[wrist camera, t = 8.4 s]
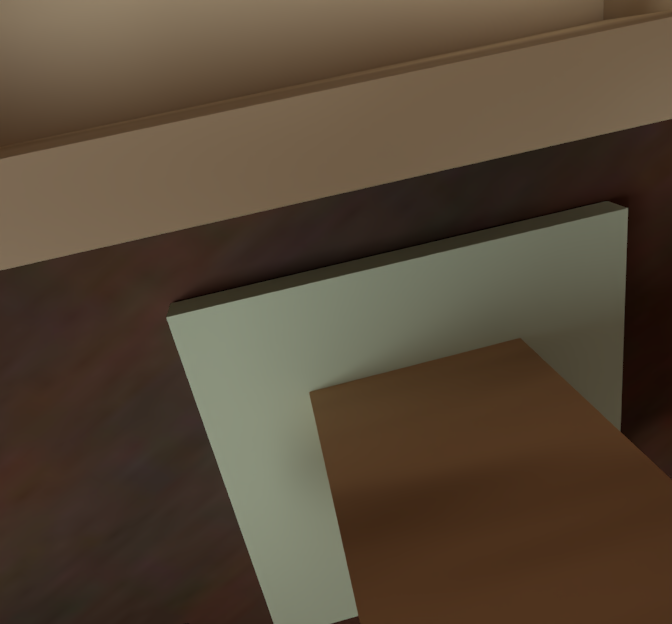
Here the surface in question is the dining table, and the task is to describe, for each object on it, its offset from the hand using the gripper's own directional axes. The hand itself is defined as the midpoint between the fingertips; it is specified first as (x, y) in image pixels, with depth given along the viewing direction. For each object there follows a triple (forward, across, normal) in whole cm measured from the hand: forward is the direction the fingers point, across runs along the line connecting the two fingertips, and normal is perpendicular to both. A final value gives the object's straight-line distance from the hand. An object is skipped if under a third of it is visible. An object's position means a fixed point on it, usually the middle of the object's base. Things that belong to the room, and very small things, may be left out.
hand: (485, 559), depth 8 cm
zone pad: (+3, 0, 0) cm, 3 cm away
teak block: (+3, 0, 0) cm, 3 cm away
